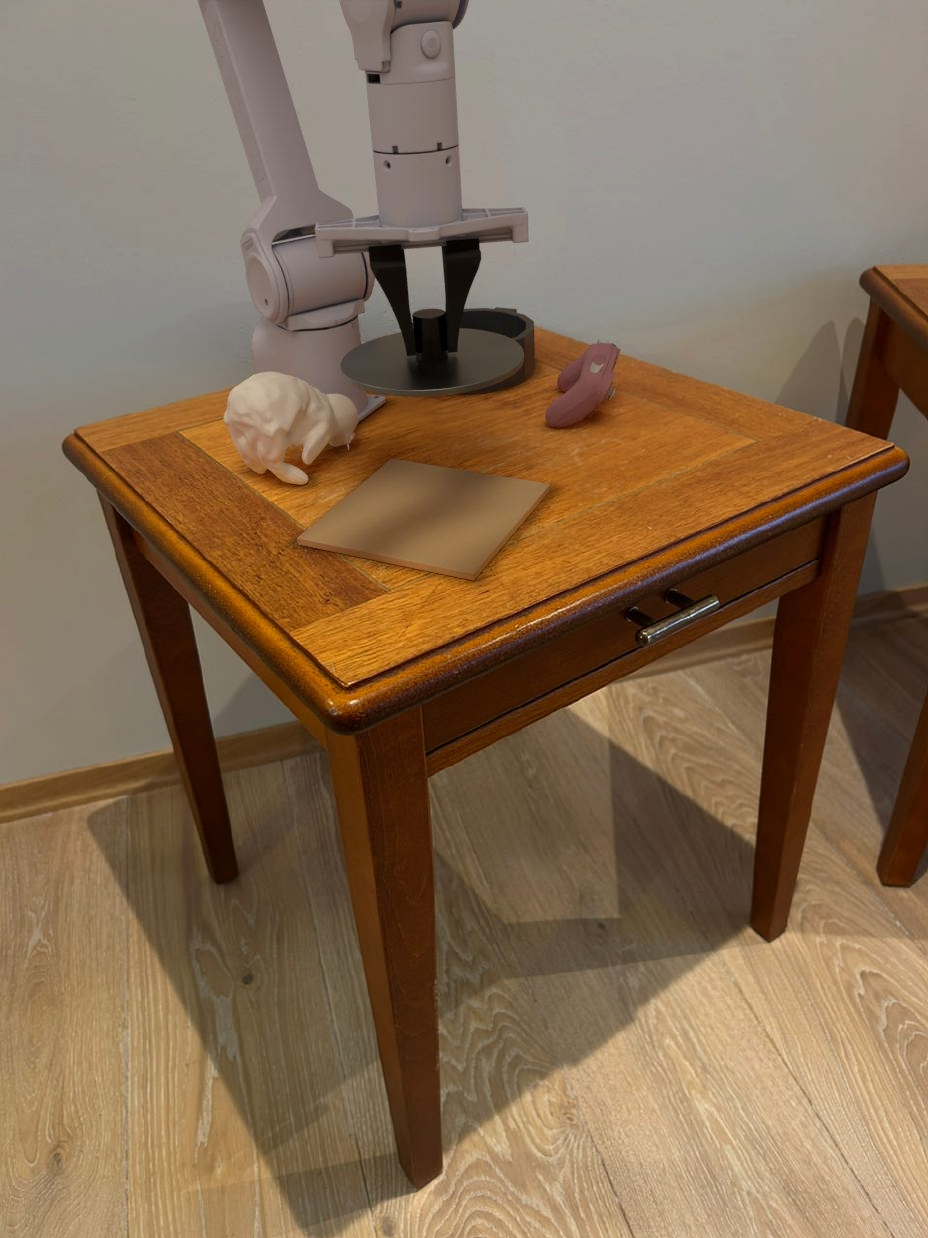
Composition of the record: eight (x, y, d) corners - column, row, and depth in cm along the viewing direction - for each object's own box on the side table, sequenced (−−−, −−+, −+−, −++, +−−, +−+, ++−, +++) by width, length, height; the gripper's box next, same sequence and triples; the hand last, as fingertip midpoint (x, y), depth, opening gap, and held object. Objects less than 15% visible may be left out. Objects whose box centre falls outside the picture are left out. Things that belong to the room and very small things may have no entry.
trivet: (297, 544, 70) (296, 537, 69) (391, 465, 80) (391, 458, 79) (474, 581, 64) (473, 573, 64) (550, 490, 74) (550, 483, 74)
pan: (372, 395, 93) (367, 350, 90) (454, 337, 106) (452, 296, 104) (492, 411, 88) (490, 364, 86) (562, 348, 101) (562, 305, 99)
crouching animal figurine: (209, 375, 74) (320, 344, 82) (222, 480, 78) (327, 440, 87) (266, 390, 71) (376, 356, 79) (276, 499, 75) (380, 456, 83)
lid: (307, 393, 70) (297, 334, 67) (397, 334, 80) (391, 281, 77) (477, 415, 65) (474, 352, 62) (551, 349, 75) (551, 293, 72)
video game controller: (586, 448, 84) (626, 379, 80) (539, 424, 84) (577, 354, 80) (596, 404, 92) (633, 340, 88) (554, 383, 92) (588, 317, 88)
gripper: (302, 165, 60) (331, 376, 68) (533, 147, 61) (536, 359, 68) (307, 148, 66) (333, 344, 74) (518, 132, 67) (523, 328, 74)
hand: (431, 349), depth 71 cm, fingers closed on lid, 2 cm apart
